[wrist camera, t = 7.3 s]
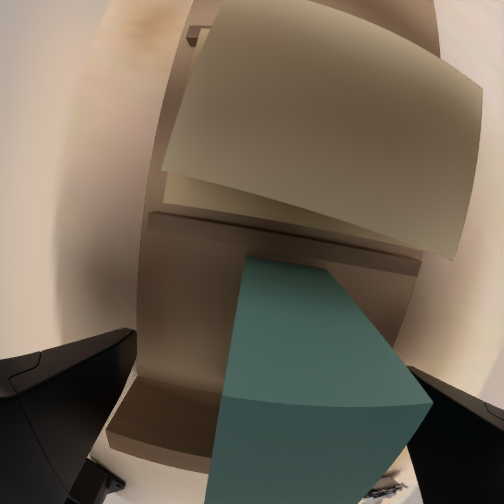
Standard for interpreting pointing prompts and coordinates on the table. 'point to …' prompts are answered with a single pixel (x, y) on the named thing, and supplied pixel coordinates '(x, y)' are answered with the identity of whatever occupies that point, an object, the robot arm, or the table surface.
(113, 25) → the table surface
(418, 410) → the teal rectangular block
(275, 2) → the offcut top
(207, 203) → the offcut low
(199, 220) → the rack
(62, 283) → the table surface
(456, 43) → the table surface
